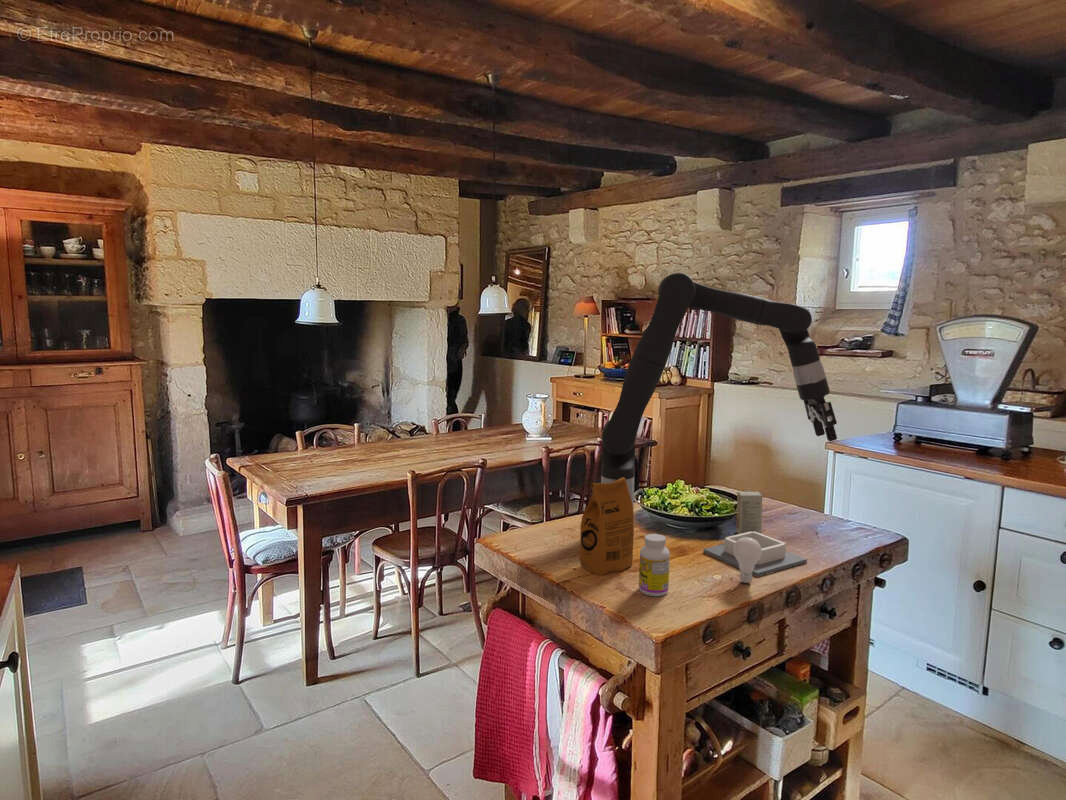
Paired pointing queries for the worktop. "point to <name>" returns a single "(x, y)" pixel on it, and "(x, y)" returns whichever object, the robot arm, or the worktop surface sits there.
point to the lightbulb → (747, 556)
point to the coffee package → (607, 529)
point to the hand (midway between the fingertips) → (826, 437)
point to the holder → (770, 559)
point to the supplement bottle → (654, 566)
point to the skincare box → (749, 512)
